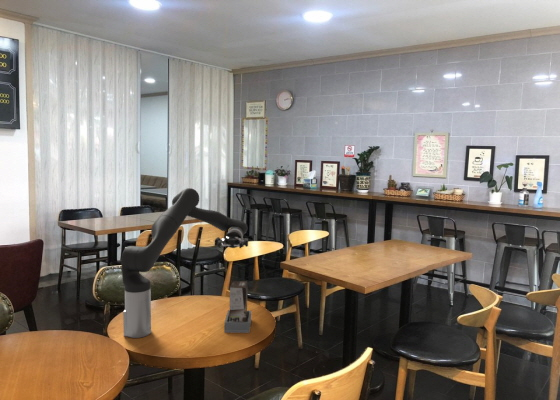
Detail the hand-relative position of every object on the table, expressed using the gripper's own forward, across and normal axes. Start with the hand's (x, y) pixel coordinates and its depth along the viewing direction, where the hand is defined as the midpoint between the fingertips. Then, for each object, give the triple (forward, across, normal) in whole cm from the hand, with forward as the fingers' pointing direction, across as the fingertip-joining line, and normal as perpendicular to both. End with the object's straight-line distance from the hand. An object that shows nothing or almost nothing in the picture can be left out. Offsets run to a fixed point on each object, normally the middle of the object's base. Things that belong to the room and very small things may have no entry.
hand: (229, 245), depth 182 cm
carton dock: (+12, +5, +30) cm, 32 cm away
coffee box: (+11, +5, +29) cm, 32 cm away
